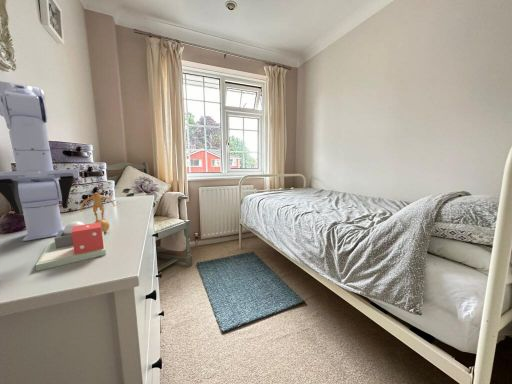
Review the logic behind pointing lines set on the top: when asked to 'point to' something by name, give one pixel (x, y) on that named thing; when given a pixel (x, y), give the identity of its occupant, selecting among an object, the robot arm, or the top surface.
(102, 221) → the figurine
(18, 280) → the top surface
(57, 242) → the housing
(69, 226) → the white ball
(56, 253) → the board
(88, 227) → the die
